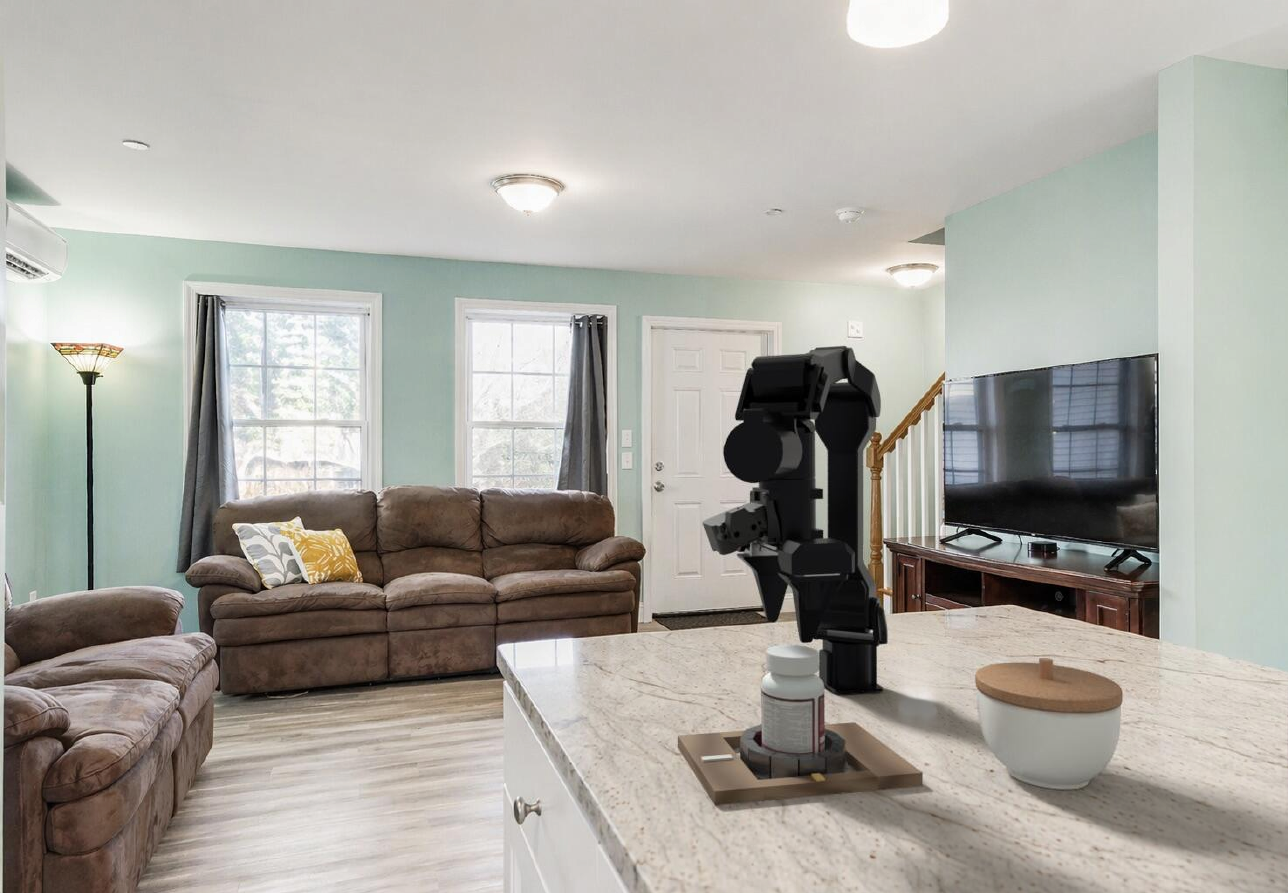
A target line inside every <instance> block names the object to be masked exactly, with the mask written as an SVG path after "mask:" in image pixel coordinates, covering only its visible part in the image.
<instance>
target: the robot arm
mask: <svg viewBox="0 0 1288 893" xmlns="http://www.w3.org/2000/svg"><path fill="white" fill-rule="evenodd" d="M750 366H751V367H748V369H747V370H746V373H745V376H744V379H743V384H742V387H741V391H740V395H739V398H738V403H737V406H736V410H735V413H734V419H735V421H737V422H740V423H739V424H738V425H736V426H734V427H733V429H731V431H730V432H729V433H728V434H727V437H726V440H725V443H724V445H723V447H722V448H723V452H722V453H723V459H724V463H725V465H726V468H727V469H728V470H729V472H730V474H732V476H734V477H735V478H736V479H738V480H740V481H742V482H745V483H748V484H758V486H757V487H756V486H754V487H753V486H752V487H751V488H752V490H750V492H749V502H748V503H745V504H742V505H740V506H735V507H733V508H730V509H728V510H725V511H723V512H721V513H718V514H716V515H714V516H711V517H708V518H706V519H705V520H703V521H702V522H701V523H702V526H703V528H704V531H705V534H706V537H707V539H708V542H709V545H710V547H711V551H712V552H718V554H719V555H722V556H727V555H730V554H732V553H735V552H738V553H736V556H737V558H738V559H739V560H741V561H742V562H743V563H745V565H746V566H747V567H749V568H750V569H751V571H752V574H753V576H754V579H755V582H756V587H757V590H758V593H759V598H760V600H761V604H762V608H763V612H764V616H765V619H766V621H767V622H769V623H773V622H777V621H778V620H779V617H780V614H781V611H782V607H783V605H784V601H785V597H786V593H787V590H788V586H789V587H790V588H791V590H792V598H793V604H794V605H793V606H794V611H795V618H796V627H797V631H798V632H797V633H798V637H799V641H800V643H802V644H806V643H807V644H809V643H812V642H813V640H815V641H818V640H820V641H821V640H822V649H819V651H818V653H819V671H818V677H819V678H820V679H821V680H822V681H823V684H824V687H826V688H827V689H829V690H830V691H831V692H833V693H834V694H837V695H846V694H847V695H849V694H861V693H862V694H863V693H877V692H879V693H880V692H883V691H884V687H883V686H882V685H880V684H878V647H880V645H888V642H889V637H888V636H889V634H888V633H889V632H888V624H887V618H886V612H885V609H884V608H883V606H882V601H881V599H880V597H877V582H876V580H875V579H874V577H873V576H872V574H871V572H870V571H869V569H868V568H867V565H866V564H865V562H864V450H865V449H866V447H867V445H868V444H869V442H870V440H871V439H872V437H873V436H874V434H875V433H876V430H877V418H879V417H880V415H881V409H882V408H881V407H882V404H881V403H882V400H881V392H880V389H879V386H878V382H877V378H876V376H875V374H874V372H872V371H871V370H870V369H869V368H867V366H865V365H863V364H862V363H861V362H859V361H858V360H857V358H856V356H855V352H854V349H853V348H852V347H848V346H846V345H840V346H839V345H837V346H822V347H821V346H820V347H818V346H817V347H815V348H814V349H811V350H809V352H806V353H799V354H783V355H782V354H781V355H765V356H763V355H762V356H756V357H755V358H754V359H753V360H752V362H751V365H750ZM842 380H847V382H845V381H844V382H841V381H842ZM813 420H814V422H813ZM816 434H817V436H818V437H819V439H820V440H821V442H822V444H823V445H824V447H825V449H826V450H827V452H826V453H827V537H826V538H824V529H822V528H817V512H816V510H817V504H816V502H817V500H824V489H823V488H819V487H816V485H817V484H816V481H817V480H816V479H817V478H816ZM871 631H872V632H871Z"/></svg>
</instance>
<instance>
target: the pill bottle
mask: <svg viewBox="0 0 1288 893" xmlns="http://www.w3.org/2000/svg"><path fill="white" fill-rule="evenodd" d="M765 655H766V656H765V657H766V658H765V659H766V660H765V666H766V670H768V671H769V672H768V673H766V674H765V675H764V677H763V678H762V680H761V686H760V692H761V693H760V696H761V697H760V699H761V702H760V703H761V724H762V748H765V749H768V750H770V751H773V752H776V753H785V754H793V755H803V754H815V753H820V752H822V751H824V750H825V724H826V723H825V722H826V721H825V720H826V719H825V686H824V684H823V681H822V680H821V679H820V678H819V675H817V674H816V673H819V651H818V650H817V649H815V648H812V647H809V646H806V645H805V646H804V645H798V644H780V645H779V644H778V645H773V646H770V647H769V648H767V649H766V653H765Z"/></svg>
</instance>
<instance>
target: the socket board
mask: <svg viewBox="0 0 1288 893" xmlns="http://www.w3.org/2000/svg"><path fill="white" fill-rule="evenodd" d="M677 748H678V750H679V752H680V753H681V754H682V756H683V757H684V759H685V761H686V763H687V764H688V766H689V767H690V769H691V770H692V772H693V774H694V775H695V776H696V778H697V780H698V781H699V783H700V784H701V785H702V787H703V788H704V790H705V792H706V793H707V795H708V796H709V798H710V800H711V801H712V802H713V805H715V806H717V805H719V806H720V805H728V804H729V805H730V804H738V803H741V804H742V803H751V802H760V801H771V800H780V799H781V800H782V799H783V800H784V799H791V798H792V799H793V798H795V799H796V798H803V797H805V798H806V797H813V796H814V797H815V796H826V795H835V794H836V795H837V794H838V795H839V794H846V793H857V792H858V793H859V792H868V791H869V792H870V791H878V790H888V789H890V790H891V789H900V788H901V789H902V788H911V787H912V788H913V787H922V786H923V784H924V780H923V778H924V777H923V771H921V770H920V769H919V768H917V767H916V766H914V765H913V764H912V763H910V762H909V761H908V760H906V759H905V758H904V757H902V756H901V755H900V754H898V753H897V752H896V751H894V750H893V749H891V748H890V747H889V746H887V745H886V744H885V743H883V742H882V741H881V740H880V739H878V738H876V737H875V736H874V735H873V734H871V733H870V732H869V731H867V730H866V729H865V728H863V727H862V726H860V725H859V724H858V723H857V722H855V721H854V722H841V723H839V722H838V723H830V724H829V723H827V724H826V723H825V750H824V751H822V752H820V753H815V754H803V755H793V754H785V753H776V752H773V751H770V750H768V749H765V748H762V723H761V724H758V725H755V726H752V727H750V728H746V729H745V730H733V731H723V732H706V733H705V732H704V733H695V734H693V733H692V734H681V735H677ZM734 749H739V755H738V754H737V752H736V751H735V750H734ZM846 763H847V764H848V765H849V767H851V768H852V769H853V770H855V771H847V772H845V771H846V766H847V764H846Z"/></svg>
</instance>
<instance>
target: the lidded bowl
mask: <svg viewBox="0 0 1288 893" xmlns="http://www.w3.org/2000/svg"><path fill="white" fill-rule="evenodd" d="M974 681H975V682H974V684H975V687H976V705H977V706H976V707H977V715H978V720H979V725H980V730H981V734H982V736H983V738H984V741H985V743H986V745H987V746H988V749H990V752H992V754H993V755H994V757H995V758H996V759H997V760H998V761H999V762H1000V763H1001V764H1002V765H1003V766H1005V771H1006V772H1007V774H1009V776H1011V777H1012V778H1014V779H1016V780H1018V781H1020V782H1022V783H1025V784H1028V785H1031V786H1034V787H1038V788H1044V789H1049V790H1050V789H1051V790H1057V791H1059V790H1061V791H1073V790H1080V789H1083V788H1085V787H1087V786H1088V785H1089V784H1090V780H1092V779H1094V778H1095V777H1097V776H1098V775H1100V773H1101V772H1102V771H1104V770H1105V769H1106V768H1107V767H1108V765H1109V764H1110V762H1111V761H1112V759H1113V757H1114V755H1115V752H1116V750H1117V746H1118V742H1119V739H1120V733H1121V727H1122V726H1121V724H1122V722H1121V721H1122V703H1123V700H1124V699H1123V698H1124V697H1123V696H1124V693H1123V688H1122V687H1121V686H1120V685H1119V683H1117V682H1116V681H1114V680H1112V679H1111V678H1108V677H1106V676H1103V675H1100V674H1097V673H1094V672H1092V671H1087V670H1082V669H1079V668H1075V667H1070V666H1069V667H1068V666H1064V665H1057V664H1054V659H1052V658H1048V657H1040V658H1038V662H1037V663H1036V662H1015V661H1014V662H1002V663H1001V662H999V663H995V664H994V663H993V664H988V665H986V666H983V667H981V668H979V669H977V670H976V672H975V674H974ZM1077 788H1078V789H1077Z"/></svg>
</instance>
